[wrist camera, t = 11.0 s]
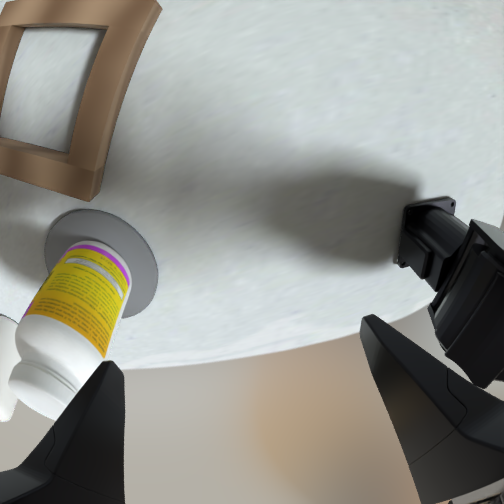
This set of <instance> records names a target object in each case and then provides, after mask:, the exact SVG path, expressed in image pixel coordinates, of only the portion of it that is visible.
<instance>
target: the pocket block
mask: <svg viewBox="0 0 504 504" xmlns="http://www.w3.org/2000/svg"><path fill="white" fill-rule="evenodd" d="M161 11H162V7H161V6H160V5H159V3H158V2H157V1H156V0H15V1H10V2H6V3H5V5H4V8H3V10H2V12H1V14H0V116H1V110H2V105H3V100H4V95H5V91H6V87H7V83H8V79H9V75H10V71H11V68H12V64H13V61H14V58H15V55H16V52H17V49H18V46H19V43H20V40H21V37H22V35H23V32H24V30H25V27H80V28H93V29H103V30H107V32H106V34H105V36H104V39H103V41H102V43H101V46H100V48H99V51H98V53H97V56H96V58H95V61H94V64H93V66H92V69H91V72H90V75H89V78H88V81H87V84H86V87H85V90H84V93H83V97H82V100H81V104H80V107H79V111H78V115H77V119H76V123H75V127H74V131H73V136H72V141H71V146H70V151H69V154H68V153H64V152H60V151H56V150H52V149H48V148H44V147H41V146H37V145H32V144H28V143H24V142H20V141H16V140H12V139H7V138H3V137H0V174H1V175H4V176H7V177H11V178H14V179H17V180H20V181H23V182H26V183H30V184H33V185H36V186H39V187H42V188H45V189H49V190H52V191H55V192H58V193H61V194H64V195H68V196H71V197H74V198H77V199H80V200H84V201H87V202H90V201H91V200H92V199H93V198H94V197H95V196H96V195H97V194H98V193H99V192H100V187H101V182H102V177H103V172H104V167H105V163H106V159H107V154H108V150H109V146H110V143H111V139H112V135H113V132H114V128H115V125H116V121H117V118H118V115H119V111H120V108H121V105H122V102H123V99H124V96H125V93H126V91H127V88H128V85H129V82H130V80H131V77H132V74H133V72H134V69H135V67H136V64H137V62H138V59H139V57H140V55H141V52H142V50H143V48H144V46H145V43H146V41H147V39H148V37H149V35H150V33H151V30H152V28H153V26H154V24H155V22H156V20H157V18H158V17H159V15H160V13H161Z"/></svg>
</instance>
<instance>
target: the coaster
mask: <svg viewBox="0 0 504 504" xmlns="http://www.w3.org/2000/svg"><path fill="white" fill-rule="evenodd" d="M81 241H96V242H100V243H103V244H105V245H107V246H109V247H111V248H112V249H113V250H115V251H116V252H117V253H118V254H119V255H120V256H121V257H122V258H123V259H124V261H125V262H126V264H127V266H128V268H129V270H130V273H131V278H132V287H131V291H130V294H129V297H128V300H127V303H126V305H125V308H124V311H123V314H122V317H121V319H122V318H128V317H131V316H134V315H136V314H138V313H140V312H141V311H143V310H144V309H145V308H146V307H147V306H148V305H149V304H150V302H151V301H152V299H153V297H154V295H155V291H156V288H157V283H158V269H157V264H156V261H155V258H154V255H153V253H152V251H151V249H150V247H149V246H148V244H147V243H146V241H145V240H144V239H143V237H142V236H141V235H140V234H139V233H138V232H137V231H136V230H135V229H134V228H133V227H132V226H130V225H129V224H128V223H126V222H125V221H123V220H122V219H120V218H118V217H116V216H114V215H112V214H109V213H106V212H103V211H98V210H79V211H75V212H72V213H70V214H68V215H66V216H64V217H63V218H61V219H60V220H59V221H58V222H57V223H56V224H55V225H54V226H53V228H52V229H51V231H50V232H49V235H48V237H47V240H46V243H45V262H46V266H47V270H48V272H49V274H50V273H51V271H52V270H53V268H54V267H55V266H56V264H57V263H58V261H59V260H60V259H61V257H62V256H63V255H64V253H65V252H66V251H67V250H68V249H69V248H70V247H71V246H72V245H74V244H75V243H78V242H81Z"/></svg>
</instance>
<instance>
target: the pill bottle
mask: <svg viewBox="0 0 504 504" xmlns="http://www.w3.org/2000/svg"><path fill="white" fill-rule="evenodd" d="M17 326H18V324H17V323H16V322H14V321H13V320H11V319H9V318H7V317H4V316H0V421H1V422H6V421H9V419H10V418H11V417H12V415H13V412H14V409H15V406H16V403H17V400H18V397H17V396H16V395H15V394H14V393H13V392H12V390H11V389H10V387H9V385H8V381H9V378H10V375H11V373H12V370H13V368H14V366H15V365H17V364H18V363H19V362H20V361H21V357H20V355H19V353H18V351H17V348H16V344H15V332H16V328H17Z"/></svg>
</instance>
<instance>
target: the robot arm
mask: <svg viewBox="0 0 504 504" xmlns="http://www.w3.org/2000/svg"><path fill="white" fill-rule="evenodd" d="M455 206H456V201H455V200H454V199H452V198H448V199H441V200H435V201H429V202H423V203H417V204H411V205H407V206H406V207H405V208H404V213H403V224H402V231H401V239H400V247H399V256H398V266H399V267H400V268H405V267H408V266H410V267H411V268H412V269H413V270H414V272H415V273H416V274H417V275H418V276H419V278H421V279H425V280H426V281H427V283H428V284H429V285H430V286H431V287H432V289H433V290H434V291H435V292H438V293H437V294H436V296H435V298H434V300H433V301H432V303H430V305H429V307H428V312H429V314H430V317H431V320H432V323H433V326H434V329H435V335H436V337H437V339H438V341H439V343H440V345H441V347H442V349H443V350H444V351H445V356H446V357H447V358H449V359H451V360H452V361H454V362H455V363H456V364H457V365H458V366H459V367H460V368H462V370H463V371H464V372H465V373H466V374H467V376H468V377H469V379H470V380H471V382H472V383H473V384H472V383H470V382H469V381H467V380H466V379H464V378H463V377H461V376H460V375H458V374H457V373H455V372H454V371H453V370H451V369H450V368H447V366H446V365H444V364H443V363H441V362H440V361H439V360H437V359H436V358H435V357H433V356H432V355H431V354H429V353H428V352H426V351H425V350H424V349H422V348H421V347H419V346H418V345H417V344H415V343H414V342H412V341H411V340H410V339H408V338H407V337H405V336H404V335H402V334H401V333H400V332H398V331H397V330H396V329H394V328H393V327H391V326H390V325H389V324H387V323H386V322H384V321H383V320H381V319H380V318H379V317H377V316H376V315H374V314H371V315H367V316H364V317H363V318H362V321H361V327H360V338H361V341H362V344H363V348H364V351H365V354H366V357H367V360H368V364H369V367H370V370H371V373H372V376H373V378H374V380H375V383H376V385H377V388H378V390H379V392H380V394H381V397H382V399H383V402H384V404H385V406H386V409H387V411H388V413H389V416H390V419H391V421H392V424H393V426H394V429H395V431H396V433H397V436H398V439H399V441H400V444H401V446H402V449H403V452H404V454H405V457H406V460H407V463H408V465H409V469H410V471H411V474H412V477H413V480H414V483H415V486H416V489H417V492H418V494H419V498H420V501H421V504H436V503H440V502H443V501H446V500H450V499H452V500H451V501H449V503H448V504H504V401H502V400H500V399H498V398H496V397H495V396H492V395H491V394H489V393H487V392H486V391H484V390H482V389H485V388H487V387H488V385H490V384H491V382H492V381H493V380H496V381H502V382H504V232H503V231H502V230H500V229H499V228H498V227H496V226H493V225H490V224H487V223H484V222H480V221H477V220H474V219H471V221H470V224H469V226H467V225H466V224H465V223H463V222H462V221H461V220H459V219H458V218H457V217H455V216H454V212H455ZM409 210H410V212H409ZM408 212H409V213H408ZM477 386H478V387H477ZM479 387H480V388H482V389H480V388H479ZM124 392H125V391H124V375H123V372H122V371H121V370H120V369H119V368H118V366H117V365H116V364H115V363H114V362H113V361H111V360H109V361H102V362H101V363H100V365H99V366H98V367H97V368H96V370H95V371H94V372H93V373H92V375H91V376H90V377H89V378H88V380H87V381H86V382H85V384H84V385H83V386H82V387H81V389H80V390H79V391H78V393H77V394H76V395H75V396H74V398H73V399H72V400H71V402H70V403H69V404H68V406H67V407H66V408H65V410H64V411H63V412H62V414H61V415H60V416H59V418H58V419H57V420H56V422H55V423H54V425H53V426H52V427H51V428H50V430H49V431H48V432H47V434H46V435H45V436H44V438H43V439H42V440H41V442H40V443H39V444H38V445H37V446H36V448H35V449H34V450H33V451H32V452H31V453H30V454H29V456H28V457H27V458H26V459H25V460H24V461H23V462H22V464H20V465H19V466H18V467H16V468H14V469H11V470H7V471H3V472H0V504H125V494H124V427H125V426H124V425H125V395H124V394H125V393H124Z"/></svg>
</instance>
